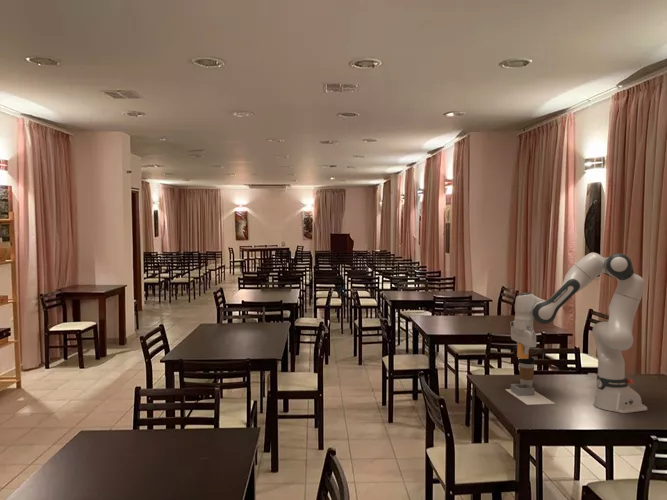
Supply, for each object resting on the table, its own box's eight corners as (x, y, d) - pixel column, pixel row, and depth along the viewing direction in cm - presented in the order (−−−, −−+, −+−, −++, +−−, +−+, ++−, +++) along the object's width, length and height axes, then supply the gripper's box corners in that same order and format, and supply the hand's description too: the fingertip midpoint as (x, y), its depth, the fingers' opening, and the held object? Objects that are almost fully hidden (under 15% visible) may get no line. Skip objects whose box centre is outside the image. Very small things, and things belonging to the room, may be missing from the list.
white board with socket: (530, 390, 271) (530, 381, 271) (555, 405, 247) (555, 396, 247) (504, 391, 269) (504, 382, 269) (527, 406, 245) (527, 397, 245)
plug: (524, 356, 264) (525, 339, 264) (528, 358, 260) (528, 341, 260) (517, 356, 264) (517, 339, 263) (520, 358, 260) (521, 341, 259)
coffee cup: (518, 386, 277) (518, 358, 277) (517, 382, 285) (518, 355, 285) (535, 388, 275) (535, 359, 274) (534, 383, 283) (534, 356, 282)
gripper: (540, 328, 251) (539, 357, 252) (520, 321, 272) (519, 348, 272) (527, 329, 251) (526, 357, 251) (508, 321, 271) (508, 348, 272)
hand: (523, 352), depth 262 cm, fingers closed on plug, 4 cm apart
